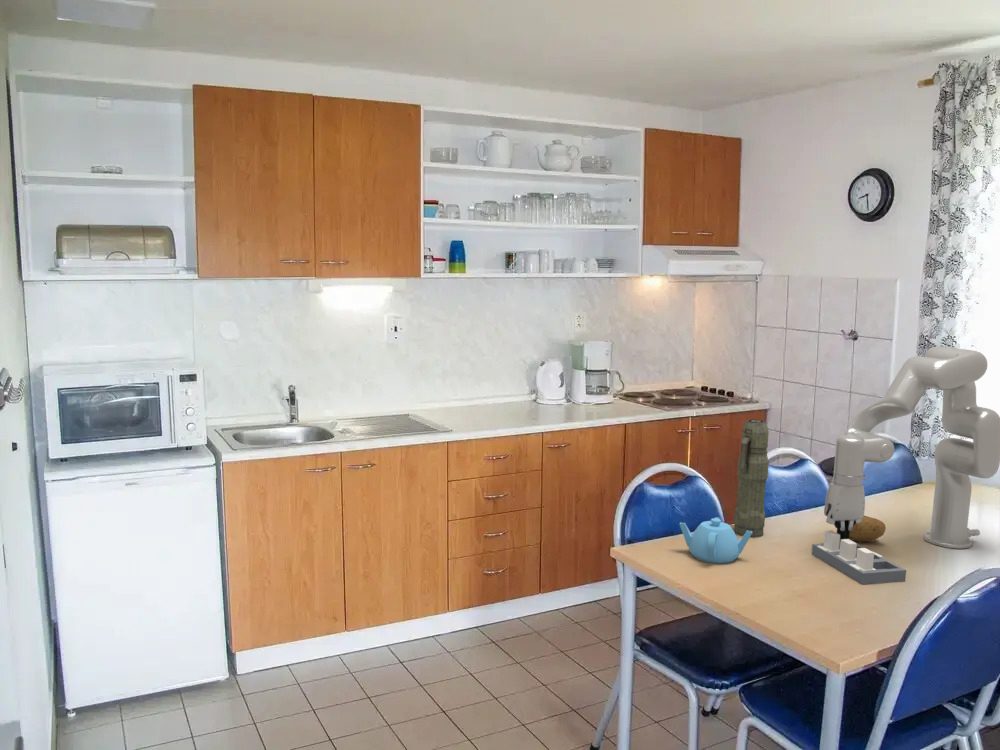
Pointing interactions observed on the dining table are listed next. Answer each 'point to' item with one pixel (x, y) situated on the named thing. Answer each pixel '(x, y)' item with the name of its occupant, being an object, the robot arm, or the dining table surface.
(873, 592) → the dining table surface
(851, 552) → the tab
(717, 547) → the teapot
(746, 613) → the dining table surface
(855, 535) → the potato
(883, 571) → the switch bank
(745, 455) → the thermos
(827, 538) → the tab
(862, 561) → the tab
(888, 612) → the dining table surface
